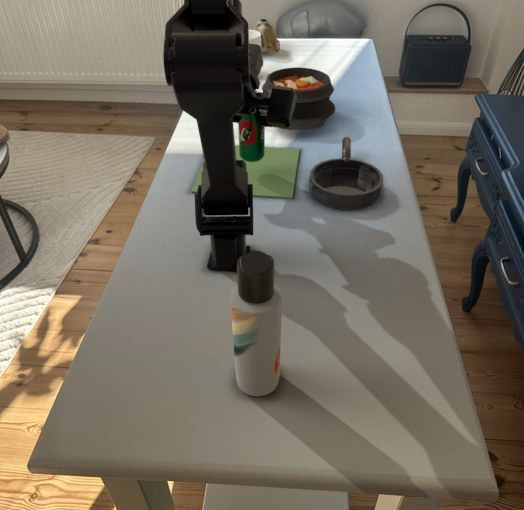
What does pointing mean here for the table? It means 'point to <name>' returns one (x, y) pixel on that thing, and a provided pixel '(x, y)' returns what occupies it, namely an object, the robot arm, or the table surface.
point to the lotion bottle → (256, 324)
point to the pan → (345, 183)
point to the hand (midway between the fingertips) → (253, 122)
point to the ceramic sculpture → (267, 36)
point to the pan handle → (346, 150)
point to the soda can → (251, 137)
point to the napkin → (268, 173)
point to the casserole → (305, 95)
